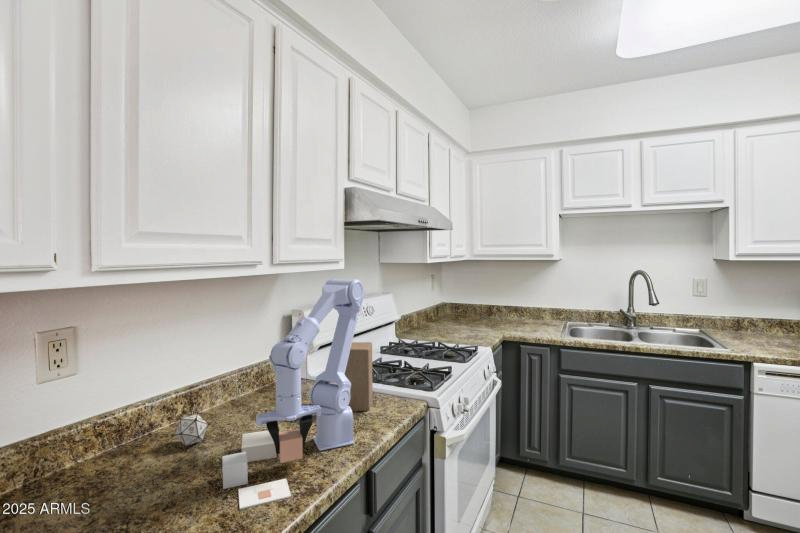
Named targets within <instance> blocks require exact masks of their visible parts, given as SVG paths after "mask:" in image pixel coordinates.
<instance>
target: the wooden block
mask: <svg viewBox="0 0 800 533" xmlns="http://www.w3.org/2000/svg"><path fill="white" fill-rule="evenodd" d="M345 376H346V377H347V379H348V380H349V381H350V383H351V388H350V402H349V405H348V406H350V407H351V410H352V412H354V411H355V412H356V411H357V412H359V411H360V412H362V411H363V412H369V411H370V409H371V405H372V401H373V393H374V392H373V343H372V342H370V341H369V342H367V341H366V342H360V341H359V342H358V341H357V342H356V341H355V342H354V341H352V345H351V349H350V353H349V357H348V362H347V366H346V370H345Z"/></svg>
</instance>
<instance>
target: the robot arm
mask: <svg viewBox="0 0 800 533" xmlns="http://www.w3.org/2000/svg"><path fill="white" fill-rule="evenodd" d="M321 293H322V294H321V295H320V297H319V298H318V300H317V301H316V303H315V304H314V306H313V308H312V309H311V311H310V313H308V315H307V317H301V318H299V319H298V320H297V321H296V322H295V325H294V326H293V327H292V329H291V330H290V331H289V333H288V334H287V335H286V336H285V337H284V339H283V340H282V341H278V342H276V343H275V344H274V345H273V347H272V348H271V351H270V354H269V355H268V359H269V362H270V363H271V365H272V366H273V372H274V374H275V403H276V404H275V406H276V407H275V408H276V409H274V410H271V411H267V412H265V413H261V414H256V415H255V419H256V420H255V422H256V423H255V424H256V426H257V427H263V425H266V429H267V430H268V431H269V433H270V435H271V437H272V439H273V441H274V444H275V450H276V455H278V454H280V448H279V432H280V428H279V422H285V421H287V422H292V421H296V420H297V419H298V420H299V421H298V422H299V431H300V433H301V435H302V445H303V450H304V449H305V445H306V440H307V437H308V434H309V432H310V429H311V427H312V425H313V424H314V420H313V416H316V435H313V437H312V439H313V442H314V444H315V446H316V447H317V450H318V451H319V452H320V451H326V450H330V449H335V448H336V449H337V448H340V447H344V446H351V445H354V444H355V440H354V438H355V437H354V436H355V435H354V415H353V414H354V413H353V411H352V410H351V407H350V406H348V405H349V402H350V388H351V383H350V381H349V380H348V379H347V377H346V376H345V370H346V366H347V362H348V357H349V353H350V349H351V345H352V342H353V340H354V336H355V331H356V326H357V322H358V319H359V313H360V312H361V311H362V310H361V309H362V305H363V301H364V296H365V293H366V291H365V289H364V286H363V283H362V281H361V280H359V279H357V278H356V279H355V278H354V279H343V278H342V279H341V278H339V279H338V278H331V277H330V278H329V279H327V281H326V282H325V284H324V285H322V291H321ZM333 309H334V310H336V311H337V313H338V318H337V322H336V327H335V331H334V334H333V337H332V342H331V346H330V350H329V354H328V358H327V362H326V365H325V370H324V371H323V372H321V373H319V374H318V375H317V376H316V378H315V381H314V384H313V385H312V387H311V389H310V390H309V391H310V392H309V401H310V404H312V405H302V369H301V367H302V366H303V364H305V361H306V359H307V353H308V352H309V347H310V345H311V344H312V342H314V340H315V338H316V337H317V336H318V334H319V333H320V324H321V323H322V322H323V321H324V320H325V319H326V317H327V316H328V315H329V313H330V312H332V310H333ZM332 383H333V384H332ZM335 384H336V385H335Z"/></svg>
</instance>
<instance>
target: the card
mask: <svg viewBox="0 0 800 533" xmlns="http://www.w3.org/2000/svg"><path fill="white" fill-rule="evenodd" d="M289 498H292V494H291V490H290V486H289V484H288V480H287V478H282V479H278V480H277V479H276V480H273V481H269V482H264V483H261V484H260V483H259V484H256V485H250V486H247V487H242V488H238V504H239V510H244V509H247V508H252V507H256V506H260V505H264V504H267V503H272V502H277V501H281V500H285V499H289Z"/></svg>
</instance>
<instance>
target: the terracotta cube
mask: <svg viewBox="0 0 800 533" xmlns="http://www.w3.org/2000/svg"><path fill="white" fill-rule="evenodd" d="M279 448H280V454H277V455H278V459H279V463H280V464H282V463H289V462H291V461H297V460H302V459H303V458H304V456H303V455H304V454H303V453H304V452H303V450H304V449H303V445H302V435H301V433H300V428H296V429H295V428H294V429H289V430H285V431H279Z"/></svg>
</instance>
